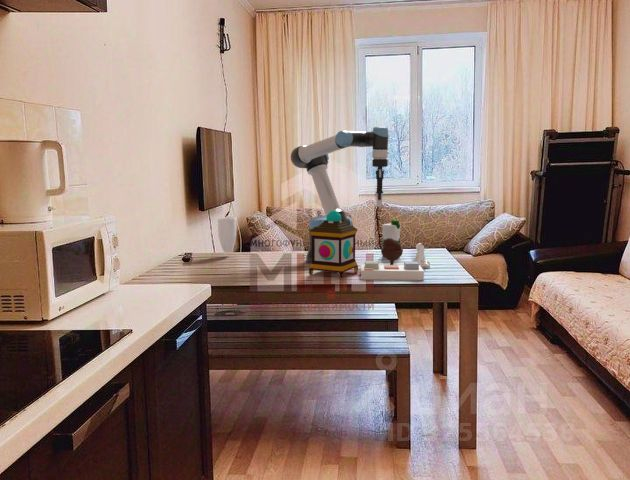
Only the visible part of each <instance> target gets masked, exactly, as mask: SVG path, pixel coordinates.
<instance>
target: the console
mask: <svg viewBox="0 0 630 480" xmlns="http://www.w3.org/2000/svg"><path fill="white" fill-rule="evenodd" d="M384 265H385V264H379V269H373V268H365V264H360V278H361V280H374V281H375V280H378V281H379V280H383V281H384V280H387V281H388V280H389V281H390V280H391V281H393V280H397V281H399V280H400V281H401V280H402V281H403V280H404V281H406V280H407V281H424V277H425V271H424V268H422V267H421V266H420V265H419V269H404V264H397V265H398V267H399V269H384Z"/></svg>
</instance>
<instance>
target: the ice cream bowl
mask: <svg viewBox="0 0 630 480" xmlns="http://www.w3.org/2000/svg"><path fill="white" fill-rule="evenodd" d="M403 252H404V249H403V248H402V246H401V243H400V244H399V243H398V242H396V241H394V240H393V239H391V238H387V239H386V240H385V241H384V248H383V247H382V248H381V249H380V253H381V255H383V256H384V257H383V258H385V260H388V261H389V265H394V262H395V261H397V260H398V259H400V258H401V257H402V255H403Z"/></svg>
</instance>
